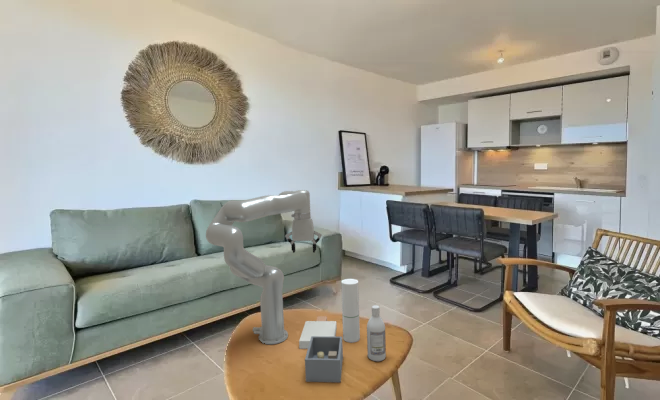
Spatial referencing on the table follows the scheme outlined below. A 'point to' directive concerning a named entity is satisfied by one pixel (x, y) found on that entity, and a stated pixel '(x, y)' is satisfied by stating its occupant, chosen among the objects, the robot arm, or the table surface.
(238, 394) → the table surface
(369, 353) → the bath foam
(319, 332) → the lid
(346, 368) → the table surface
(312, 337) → the tub
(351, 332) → the cylindrical container
